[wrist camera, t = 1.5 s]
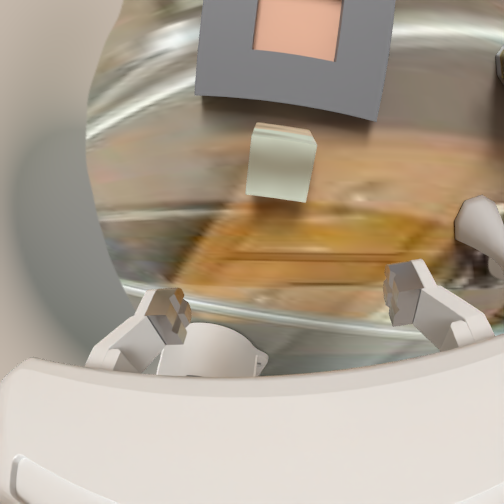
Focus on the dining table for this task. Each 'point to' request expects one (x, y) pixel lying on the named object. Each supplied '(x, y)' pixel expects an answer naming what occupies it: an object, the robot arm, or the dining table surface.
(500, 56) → the ceramic cup
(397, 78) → the dining table surface
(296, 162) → the faceted block
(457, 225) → the flask
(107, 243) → the dining table surface
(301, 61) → the pocket plate
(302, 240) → the dining table surface
